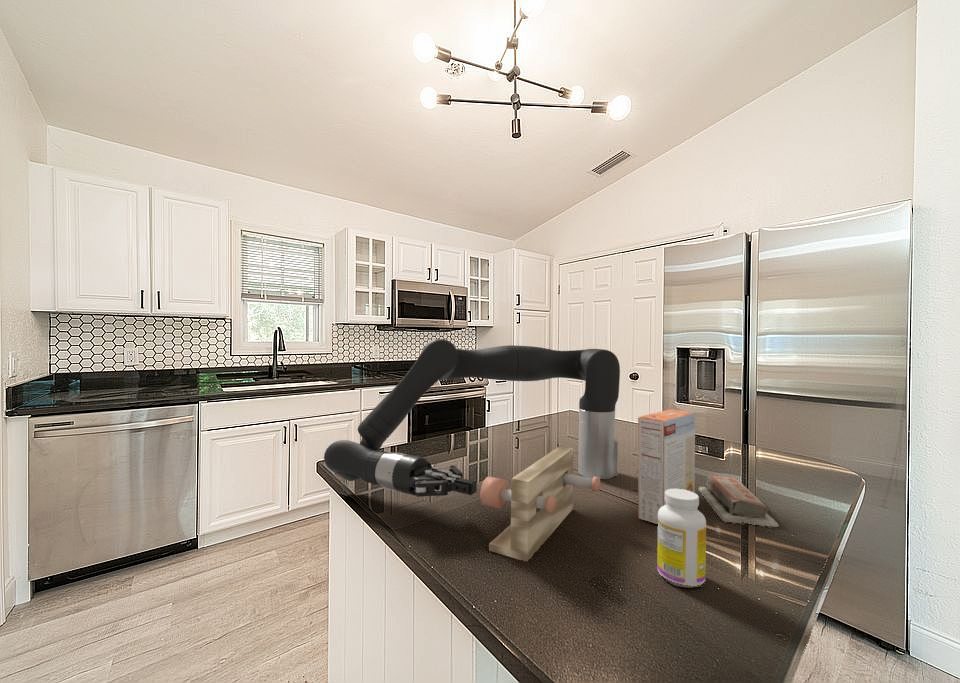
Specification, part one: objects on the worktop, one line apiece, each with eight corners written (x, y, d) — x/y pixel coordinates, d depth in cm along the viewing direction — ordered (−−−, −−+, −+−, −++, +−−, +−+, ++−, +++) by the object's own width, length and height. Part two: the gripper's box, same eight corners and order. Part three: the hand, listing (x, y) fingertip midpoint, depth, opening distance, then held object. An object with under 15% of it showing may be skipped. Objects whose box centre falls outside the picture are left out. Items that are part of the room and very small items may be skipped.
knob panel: (489, 550, 71) (490, 474, 71) (541, 502, 92) (542, 443, 91) (527, 562, 67) (528, 481, 67) (572, 509, 88) (573, 448, 88)
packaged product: (697, 471, 100) (744, 475, 98) (697, 491, 100) (743, 496, 98) (722, 500, 83) (780, 506, 80) (722, 524, 83) (779, 530, 80)
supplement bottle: (694, 567, 66) (696, 487, 66) (713, 592, 60) (715, 503, 60) (651, 564, 67) (652, 485, 67) (665, 589, 61) (666, 501, 60)
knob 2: (531, 488, 85) (532, 464, 85) (540, 481, 89) (541, 458, 89) (595, 501, 78) (595, 475, 78) (601, 493, 83) (602, 468, 83)
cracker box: (667, 501, 93) (669, 407, 93) (695, 510, 88) (697, 411, 88) (635, 518, 84) (636, 415, 84) (664, 529, 79) (666, 420, 79)
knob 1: (479, 508, 75) (480, 481, 74) (493, 499, 79) (493, 473, 79) (547, 525, 68) (548, 495, 68) (558, 514, 73) (558, 486, 72)
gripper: (380, 463, 81) (455, 478, 72) (422, 447, 92) (491, 459, 84) (380, 501, 81) (455, 521, 72) (422, 481, 92) (491, 496, 84)
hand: (474, 488), depth 78 cm, fingers closed
